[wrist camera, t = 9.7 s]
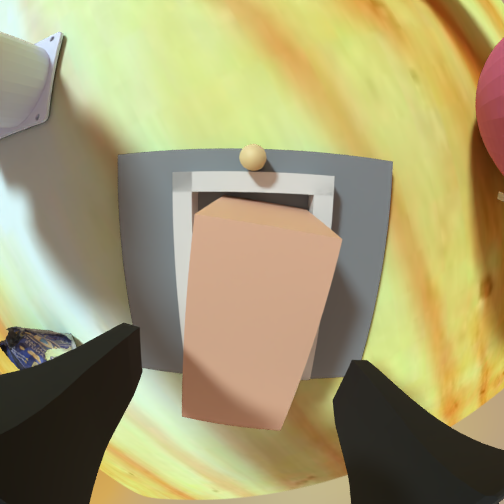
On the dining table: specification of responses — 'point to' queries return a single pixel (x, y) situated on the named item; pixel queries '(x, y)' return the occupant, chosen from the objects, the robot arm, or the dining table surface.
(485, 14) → the dining table surface
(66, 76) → the dining table surface
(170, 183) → the socket plate
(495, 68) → the pink dragon fruit
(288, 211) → the block
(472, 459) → the robot arm
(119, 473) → the dining table surface
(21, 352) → the snack package
